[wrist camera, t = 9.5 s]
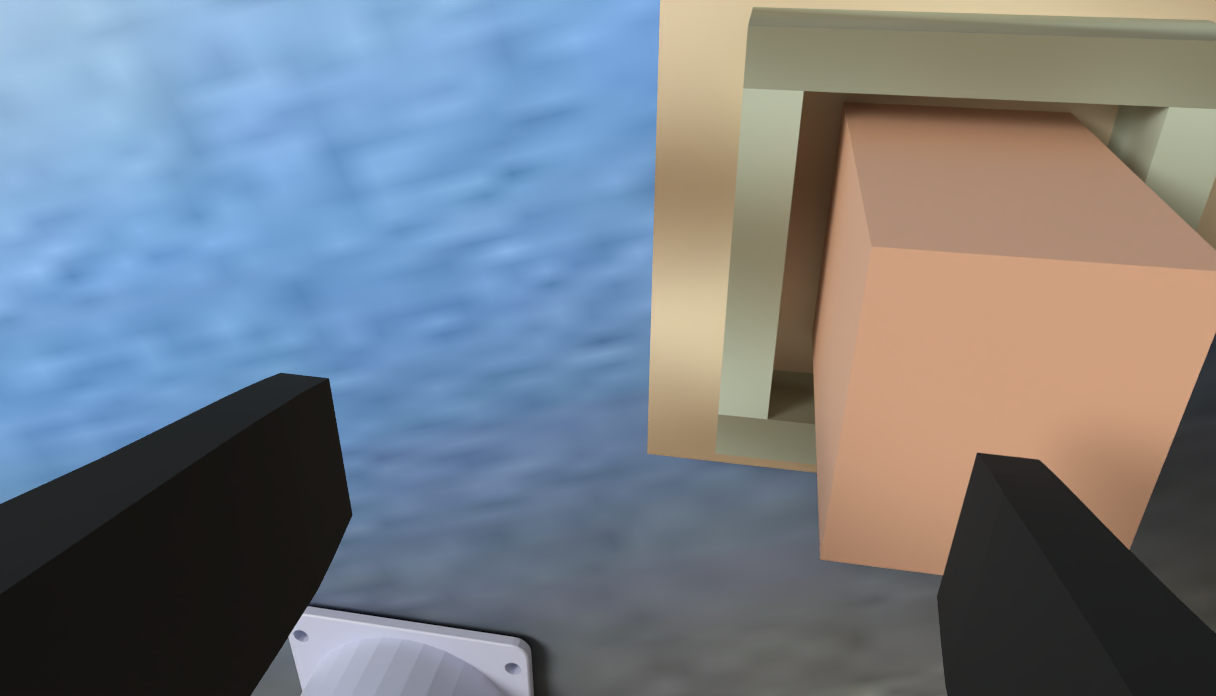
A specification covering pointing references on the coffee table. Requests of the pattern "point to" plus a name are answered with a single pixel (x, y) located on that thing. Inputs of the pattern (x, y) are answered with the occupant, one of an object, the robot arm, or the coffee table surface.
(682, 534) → the coffee table surface
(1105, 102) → the socket stand
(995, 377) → the keyed peg
